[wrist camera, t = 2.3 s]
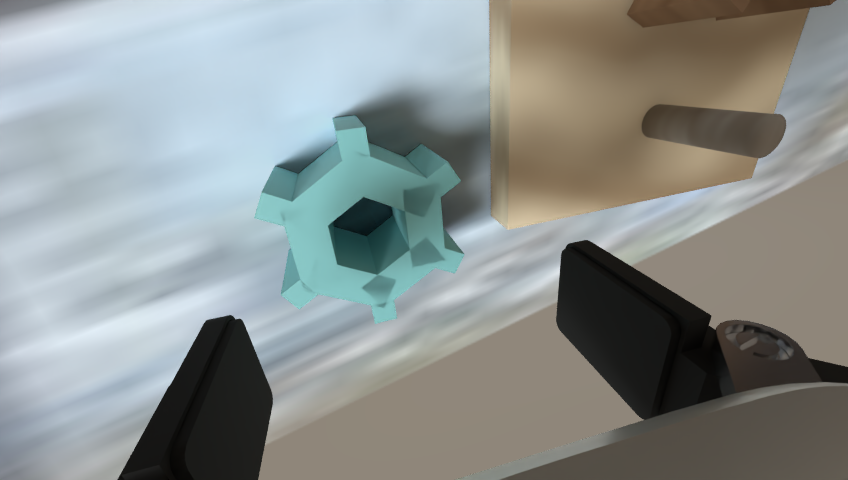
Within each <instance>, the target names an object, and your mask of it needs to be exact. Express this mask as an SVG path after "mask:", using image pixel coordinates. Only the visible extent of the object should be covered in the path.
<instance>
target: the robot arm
mask: <svg viewBox="0 0 848 480" xmlns="http://www.w3.org/2000/svg"><path fill="white" fill-rule="evenodd" d="M710 319H711V315H710V314H708V313H706V312H705V311H703V310H701V309H700V308H698V307H696V306H695V305H693V304H692V303H690V302H688V301H687V300H685V299H684V298H682V297H680V296H679V295H677V294H675V293H674V292H672V291H670V290H669V289H667V288H666V287H664V286H662V285H661V284H659V283H657V282H656V281H654V280H652V279H651V278H649V277H648V276H646V275H644V274H642V273H641V272H639V271H638V270H636V269H634V268H633V267H631V266H630V265H628V264H626V263H625V262H623V261H621V260H620V259H618V258H617V257H615V256H613V255H612V254H610V253H608V252H607V251H605V250H603V249H602V248H600V247H599V246H597V245H595V244H594V243H592V242H590V241H588V240H584V241H579V242H574V243H570V244H568V245H567V246H566V249H564V250H563V251H562V254H561V266H560V278H559V291H558V304H557V317H556V322H557V325H558V328H559V330H560V331H561V332H562V333H563V334H564V335H565V336H566V338H567V339H569V341H570V342H571V343H572V344H573V345H574V346H575V347H576V348H577V349H578V351H579V352H580V353H581V354H582V355H583V356H584V357H585V358H586V359H587V360H588V361H589V363H590V364H591V365H592V366H593V367H594V368H595V369H596V370H597V371H598V372H599V373H600V375H601V376H602V377H603V378H604V379H605V380H606V381H607V382H608V383H609V384H610V386H611V387H612V388H613V389H614V390H615V391H616V392H617V393H618V394H619V395H620V396H621V397H622V399H623V400H624V401H625V402H626V403H627V404H628V405H629V406H630V407H631V408H632V409H633V410H634V411H635V413H636V414H637V415H638V416H639V417H641V418H642V419H644V420H643V421H640V422H637V423H634V424H630V425H627V426H624V427H621V428H618V429H614V430H612V431H608V432H605V433H601V434H598V435H595V436H592V437H589V438H585V439H582V440H579V441H576V442H573V443H570V444H566V445H563V446H560V447H557V448H554V449H551V450H548V451H544V452H541V453H538V454H535V455H532V456H528V457H526V458H523V459H519V460H516V461H513V462H510V463H506V464H503V465H500V466H497V467H494V468H491V469H488V470H484V471H481V472H478V473H475V474H472V475H469V476H466V477H463V478H459V479H456V480H848V367H845V366H841V365H836V364H832V363H828V362H823V361H819V360H814V359H810V358H808V357H807V356H806V354H805V353H804V351H803V349H802V348H801V347H800V346H799V345H798V343H796V341H794V340H793V339H791V338H790V337H789V336H787V335H786V334H783V333H782V332H779V331H778V330H776V329H773V328H771V327H768V326H765V325H762V324H759V323H754V322H750V321H741V320H731V321H725V322H723V323H720V324H719V325H718V326H717V328H716V330H715V329H713V328H712V327H710V326H709V322H710ZM272 404H273V397H272V392H271V389H270V386H269V384H268V381H267V379H266V377H265V374H264V372H263V369H262V367H261V364H260V362H259V359H258V357H257V354H256V352H255V350H254V347H253V345H252V342H251V340H250V337H249V335H248V332H247V330H246V327H245V325H244V323H243V321H242V320H241V319H236V320H235V318H234V317H233V316H231V315H229V316H224V317H219V318H214V319H210V320H207V321H206V322H205V323H204V325H203V326H202V328H201V330H200V332H199V334H198V336H197V337H196V339H195V341H194V343H193V345H192V347H191V348H190V350H189V352H188V354H187V356H186V358H185V359H184V361H183V363H182V365H181V367H180V368H179V370H178V372H177V374H176V376H175V378H174V379H173V381H172V383H171V385H170V386H169V387H168V389H167V391H166V393H165V394H164V396H163V398H162V400H161V402H160V403H159V405H158V407H157V409H156V411H155V413H154V414H153V416H152V418H151V420H150V422H149V423H148V425H147V427H146V429H145V431H144V433H143V434H142V436H141V438H140V440H139V442H138V444H137V445H136V447H135V449H134V451H133V453H132V454H131V456H130V458H129V460H128V462H127V464H126V465H125V467H124V469H123V471H122V473H121V474H120V476H119V478H118V480H258V477H259V471H260V467H261V462H262V456H263V451H264V446H265V441H266V436H267V431H268V425H269V420H270V415H271V410H272Z"/></svg>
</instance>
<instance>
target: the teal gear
mask: <svg viewBox="0 0 848 480" xmlns="http://www.w3.org/2000/svg"><path fill="white" fill-rule="evenodd" d="M333 123H334V128H335V133H336V138H337V142H336V143H335V144H334V145H333V146H332V147H330V148H329V149H328V150H327V151H326V152H324V153H323V154H322V155H321V156H319V157H318V158H317V159H316V160H315V161H313V162H312V163H311V164H310V165H309V166H307V167H306V168H305V169H304V170H302V171H301V172H300V173H299V174H298V173H295V172H292V171H289V170H286V169H283V168H280V167H277V166H275V167H274V169H273V171H272V173H271V175H270V177H269V179H268V181H267V183H266V185H265V187H264V189H263V191H262V193H261V196H260V200H259V203H258V207H257V210H256V214H255V217H254V218H256V219H259V220H263V221H267V222H270V223H274V224H278V225H281V226H284V227H285V230H286V233H287V237H288V240H289V243H290V247H291V249H290V250H289V252H288V258H287V263H286V269H285V274H284V280H283V286H282V291H281V296H283V297H284V298H285V299H287V300H288V301H289V302H290V303H292V304H293V305H294V306H296V307H297V308H298V309H301V308H302V307H303V306H304V305H306V304H307V303H308V302H309V301H311V300H312V299H313V298H314V297H316V296H317V295H318V294H319V295H324V296H329V297H334V298H339V299H343V300H348V301H353V302H358V303H362V304H367V305H371V307H372V312H373V316H374V321H375V324H376V323H380V322H384V321H388V320H392V319H396V318H397V316H396V310H395V304H394V300H395V299H396V298H397V297H398V296H400V295H401V294H402V293H404V292H405V291H406V290H407V289H409V288H410V287H411V286H413V285H414V284H415V283H416V282H418V281H419V280H420V279H422V278H423V277H424V276H425V275H427V274H428V273H429V272H431V271H432V270H433V269H434V268H437V269H441V270H444V271H448V272H451V273H455V272H456V270H457V268H458V266H459V264H460V262H461V260H462V258H463V257H464V255H465V254H464V253H463V252H462V251H461V249H460V248H459V247H458V246H457V244H456V243H455V242H454V241H453V239H452V238H451V237H450V236H449V234H448V233H447V232H446V231H445V229H444V228H443V220H442V207H441V197H442V196H443V195H444V194H446V193H447V192H448V191H449V190H451V189H452V188H453V187H455V186H456V185H457V184H458V183H460V182H461V180H460V179H459V178H458V176H457V175H456V173H455V172H454V170H453V169H452V167H451V166H450V164H449V163H448V162H447V161H446V160H445V159H443V158H442V157H440V156H439V155H437V154H436V153H434V152H433V151H431V150H430V149H428V148H427V147H425V146H424V145H423V144H420V145H419V146H418V147H416V148H415V149H414V150H413V151H412V152H410V153H409V154H408V155H407V156H405V157H403V156H401V155H399V154H396V153H394V152H391V151H389V150H386V149H384V148H381V147H379V146H376V145H374V144H371V143H369V142H368V140H367V134H366V128H365V126H364V125H363V124H362V122H361V121H360V120H359V119H358V118H357V117H356V116H355V115H353V116H345V117H338V118H333ZM363 197H365V198H368V199H371V200H374V201H377V202H380V203H383V204H386V205H389V206H391V208H392V215H393V216H391V217H390V218H389V219H388V220H386V221H385V222H384V223H383V224H381V225H380V226H379V227H378V228H376V229H375V230H374V231H373V232H371V233H370V234H369V235H368V236H364V235H361V234H357V233H354V232H350V231H347V230H343V229H340V228H337V227H334V225H333V221H334V220H335V219H337V218H338V217H339V216H340V215H342V214H343V213H344V212H345V211H347V210H348V209H349V208H350V207H352V206H353V205H354V204H355V203H356V202H358V201H359V200H360V199H361V198H363Z"/></svg>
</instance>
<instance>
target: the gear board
mask: <svg viewBox="0 0 848 480" xmlns="http://www.w3.org/2000/svg"><path fill="white" fill-rule="evenodd" d="M633 1H634V0H489V20H490V149H491V216H492V217H493V218H494V219H495V220H497V221H498V222H499V223H500V224H501V225H503V226H504V227H505V228H506V229H507V230H509V229H514V228H518V227H523V226H528V225H533V224H537V223H542V222H547V221H551V220H556V219H561V218H566V217H570V216H575V215H580V214H584V213H589V212H594V211H599V210H603V209H608V208H613V207H618V206H622V205H627V204H632V203H636V202H641V201H646V200H651V199H655V198H660V197H665V196H669V195H674V194H679V193H684V192H688V191H693V190H698V189H702V188H707V187H712V186H717V185H721V184H726V183H731V182H735V181H740V180H745V179H750V178H752V175H753V172H754V169H755V166H756V163H757V161H758V158H763V157H765V156H767V155H768V154H770V153H771V152H772V151H773V150H774V149H775V148H776V147H777V146H778V144H779V143H780V141H781V140H782V138H783V135H784V133H785V129H786V120H785V118H784V117H783V116H782V115H780V114H774V111H775V108H776V105H777V102H778V99H779V96H780V94H781V91H782V88H783V85H784V82H785V79H786V76H787V73H788V70H789V67H790V64H791V61H792V59H793V56H794V53H795V50H796V47H797V44H798V41H799V38H800V35H801V32H802V29H803V26H804V24H805V21H806V18H807V15H808V12H809V9H810V8H805V9H797V10H790V11H783V12H775V13H768V14H761V15H754V16H746V17H739V18H732V19H725V20H717V21H716V17H714V18H707V19H700V20H693V21H686V22H679V23H673V24H666V25H659V26H652V27H645V28H643V27H642V26H640V25H639V24H638V23H637V22H635V21H634V20H633V19H632V18H631V17H629V16H628V15H627V12H628V11H629V9H630V7H631V5H632V3H633Z"/></svg>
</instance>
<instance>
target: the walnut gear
mask: <svg viewBox="0 0 848 480" xmlns="http://www.w3.org/2000/svg"><path fill="white" fill-rule="evenodd" d="M835 1H836V0H634V1H633V3H632V5H631V7H630V9H629V11H628V12H627V15H628V16H629V17H631V18H632V19H633V20H634V21H635V22H637V23H638V24H639V25H640V26H642V27H643V28H645V27H652V26H659V25H666V24H673V23H679V22H686V21H693V20H700V19H707V18H714V17H716V21H717V20H725V19H732V18H739V17H746V16H754V15H761V14H768V13H775V12H783V11H790V10H797V9H805V8H812V7H819V6H826V5H831V4H832V3H833V2H835Z"/></svg>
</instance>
